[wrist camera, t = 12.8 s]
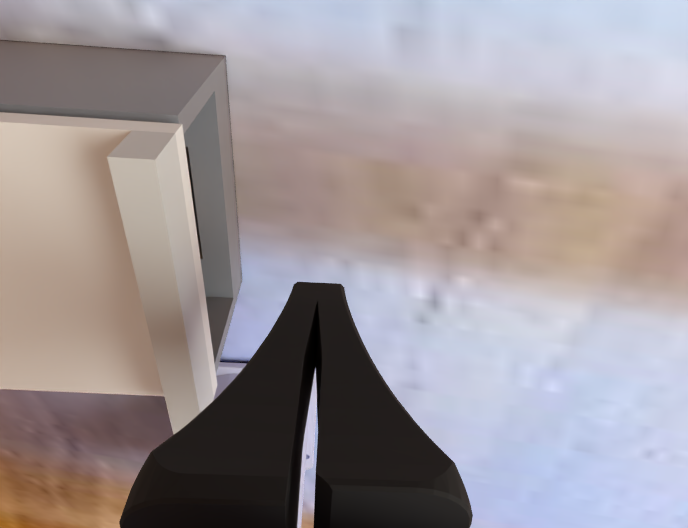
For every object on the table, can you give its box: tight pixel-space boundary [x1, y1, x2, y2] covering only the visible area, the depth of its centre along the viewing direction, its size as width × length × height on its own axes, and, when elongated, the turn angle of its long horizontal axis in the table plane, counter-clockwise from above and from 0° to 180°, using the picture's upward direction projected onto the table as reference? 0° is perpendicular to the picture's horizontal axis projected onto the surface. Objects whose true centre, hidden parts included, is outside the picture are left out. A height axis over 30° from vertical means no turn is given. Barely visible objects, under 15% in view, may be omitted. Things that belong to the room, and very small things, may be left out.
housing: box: [0, 40, 242, 373], centre depth 17 cm, size 10×14×6 cm
